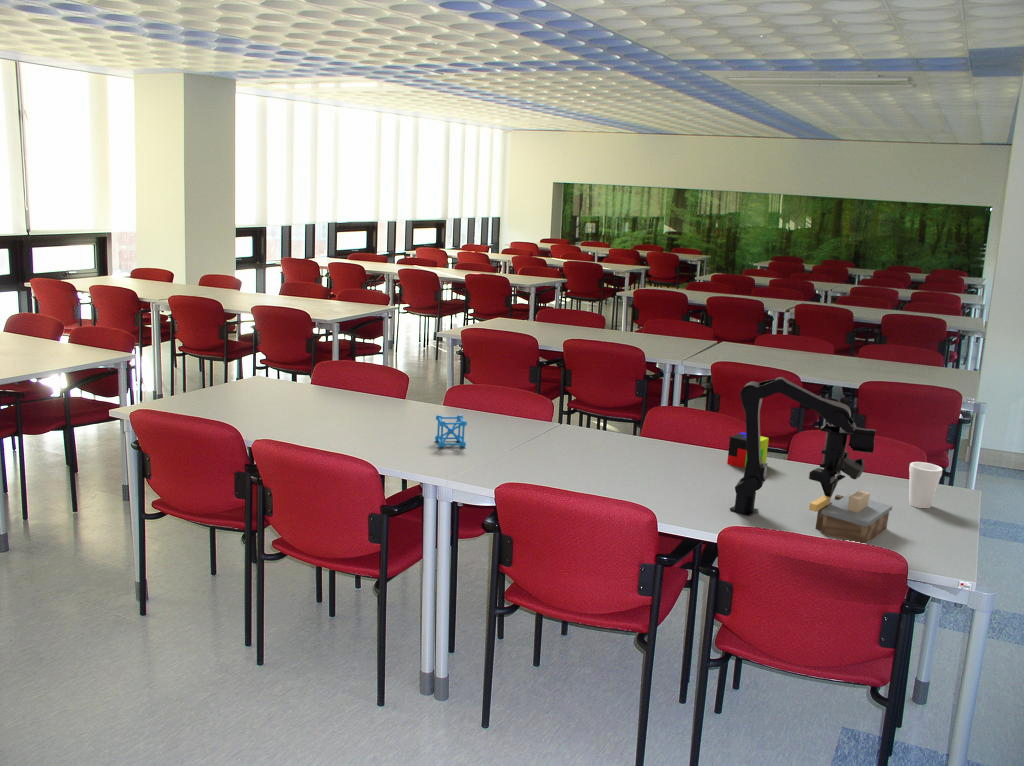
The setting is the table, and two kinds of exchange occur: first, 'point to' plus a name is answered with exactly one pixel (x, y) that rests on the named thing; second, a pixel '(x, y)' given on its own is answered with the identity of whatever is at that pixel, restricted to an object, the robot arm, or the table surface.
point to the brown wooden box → (849, 527)
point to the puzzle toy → (743, 450)
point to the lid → (857, 509)
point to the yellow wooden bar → (819, 503)
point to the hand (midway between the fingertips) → (828, 498)
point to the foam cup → (923, 483)
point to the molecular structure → (450, 431)
